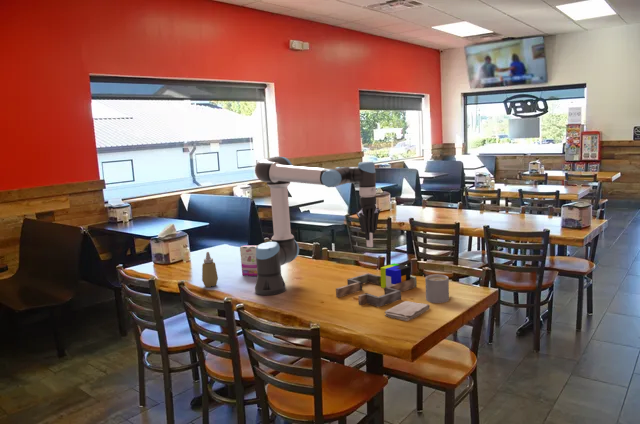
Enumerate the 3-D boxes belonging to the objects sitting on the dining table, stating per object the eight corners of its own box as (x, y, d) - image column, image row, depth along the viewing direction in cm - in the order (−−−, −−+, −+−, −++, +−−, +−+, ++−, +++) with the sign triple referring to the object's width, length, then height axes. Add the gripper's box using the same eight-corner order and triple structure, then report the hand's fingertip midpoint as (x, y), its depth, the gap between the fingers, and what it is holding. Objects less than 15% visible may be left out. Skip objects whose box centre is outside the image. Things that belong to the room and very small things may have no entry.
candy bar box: (264, 274, 291) (262, 245, 289) (259, 276, 286) (257, 247, 284) (246, 273, 295) (244, 244, 293) (241, 275, 291) (239, 246, 288)
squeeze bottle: (221, 284, 276) (218, 250, 274) (212, 288, 269) (209, 254, 266) (209, 283, 280) (206, 250, 277) (199, 287, 273) (196, 253, 270)
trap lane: (372, 309, 226) (372, 297, 225) (326, 293, 251) (325, 283, 250) (428, 290, 247) (428, 279, 247) (380, 277, 273) (380, 267, 272)
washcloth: (383, 317, 217) (382, 310, 216) (405, 305, 230) (405, 298, 230) (408, 323, 209) (408, 315, 209) (430, 309, 223) (430, 302, 222)
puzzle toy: (396, 291, 248) (396, 271, 247) (381, 287, 256) (380, 267, 254) (410, 286, 254) (410, 266, 253) (395, 282, 262) (394, 263, 260)
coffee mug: (443, 304, 227) (443, 281, 225) (422, 301, 233) (421, 279, 231) (455, 295, 238) (454, 273, 236) (434, 292, 243) (434, 271, 242)
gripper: (362, 198, 234) (364, 250, 237) (383, 194, 242) (385, 245, 245) (351, 197, 240) (353, 247, 243) (372, 193, 247) (374, 243, 251)
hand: (369, 246), depth 244 cm, fingers closed
